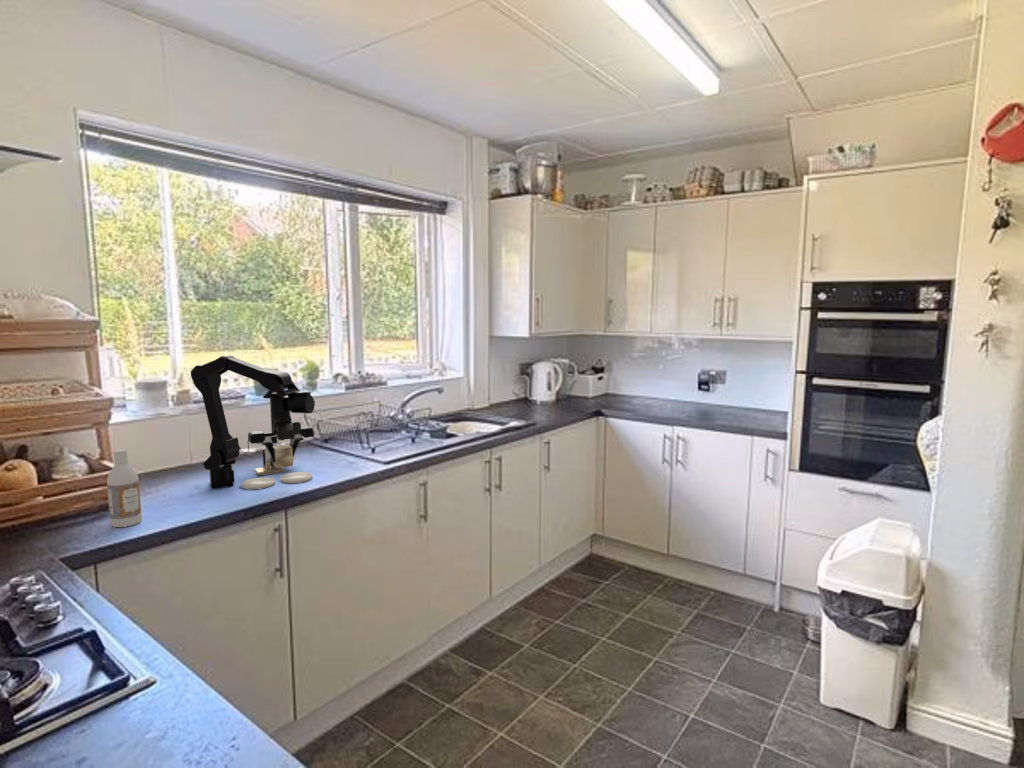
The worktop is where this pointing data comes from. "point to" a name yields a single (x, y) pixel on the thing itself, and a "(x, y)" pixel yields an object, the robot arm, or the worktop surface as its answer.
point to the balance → (268, 468)
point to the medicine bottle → (277, 442)
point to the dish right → (296, 477)
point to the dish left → (257, 483)
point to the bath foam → (123, 492)
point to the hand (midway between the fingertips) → (282, 461)
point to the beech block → (283, 456)
